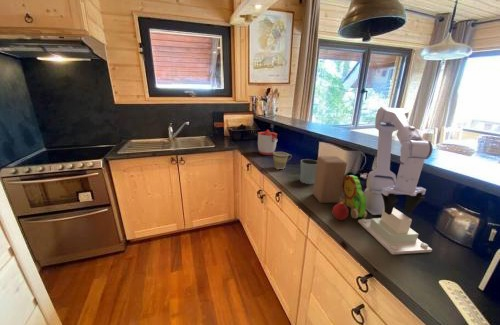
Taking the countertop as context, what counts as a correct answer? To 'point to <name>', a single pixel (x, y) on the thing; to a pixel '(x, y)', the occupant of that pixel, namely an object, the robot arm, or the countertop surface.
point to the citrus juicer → (267, 142)
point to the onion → (340, 211)
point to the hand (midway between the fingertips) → (397, 212)
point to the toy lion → (354, 196)
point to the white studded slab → (394, 237)
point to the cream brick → (396, 221)
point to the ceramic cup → (280, 159)
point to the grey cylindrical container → (308, 171)
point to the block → (329, 179)
